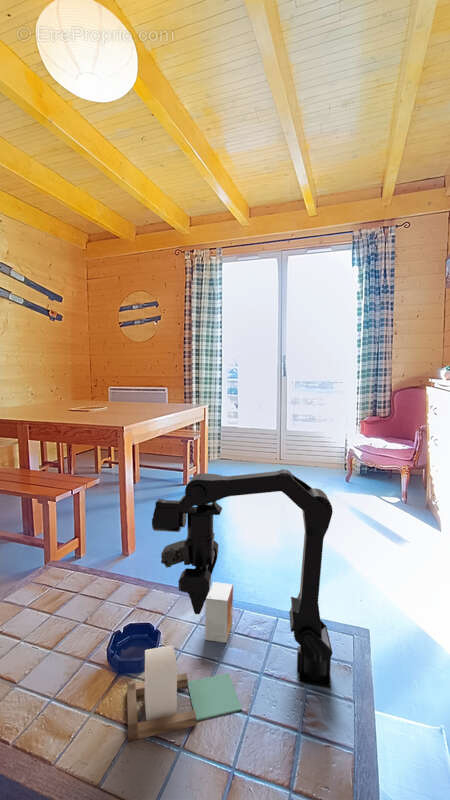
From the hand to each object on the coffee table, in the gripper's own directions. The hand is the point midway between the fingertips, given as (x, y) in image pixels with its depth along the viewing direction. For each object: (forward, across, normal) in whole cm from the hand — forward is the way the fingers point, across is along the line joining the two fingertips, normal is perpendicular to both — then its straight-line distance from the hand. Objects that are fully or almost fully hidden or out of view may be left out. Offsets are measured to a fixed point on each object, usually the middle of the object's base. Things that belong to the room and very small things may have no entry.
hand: (200, 601), depth 82 cm
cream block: (+14, +13, -6) cm, 20 cm away
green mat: (+14, +9, +4) cm, 17 cm away
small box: (+14, -10, +3) cm, 18 cm away
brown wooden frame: (+14, +13, -6) cm, 20 cm away
